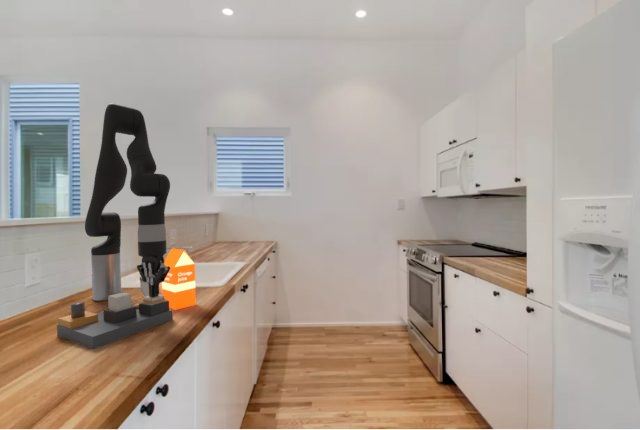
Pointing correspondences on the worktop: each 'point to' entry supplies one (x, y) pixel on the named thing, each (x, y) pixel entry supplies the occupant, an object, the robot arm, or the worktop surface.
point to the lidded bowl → (146, 287)
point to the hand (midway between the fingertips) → (154, 296)
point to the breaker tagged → (153, 300)
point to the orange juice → (179, 280)
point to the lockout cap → (77, 316)
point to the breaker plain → (119, 302)
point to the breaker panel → (117, 324)
